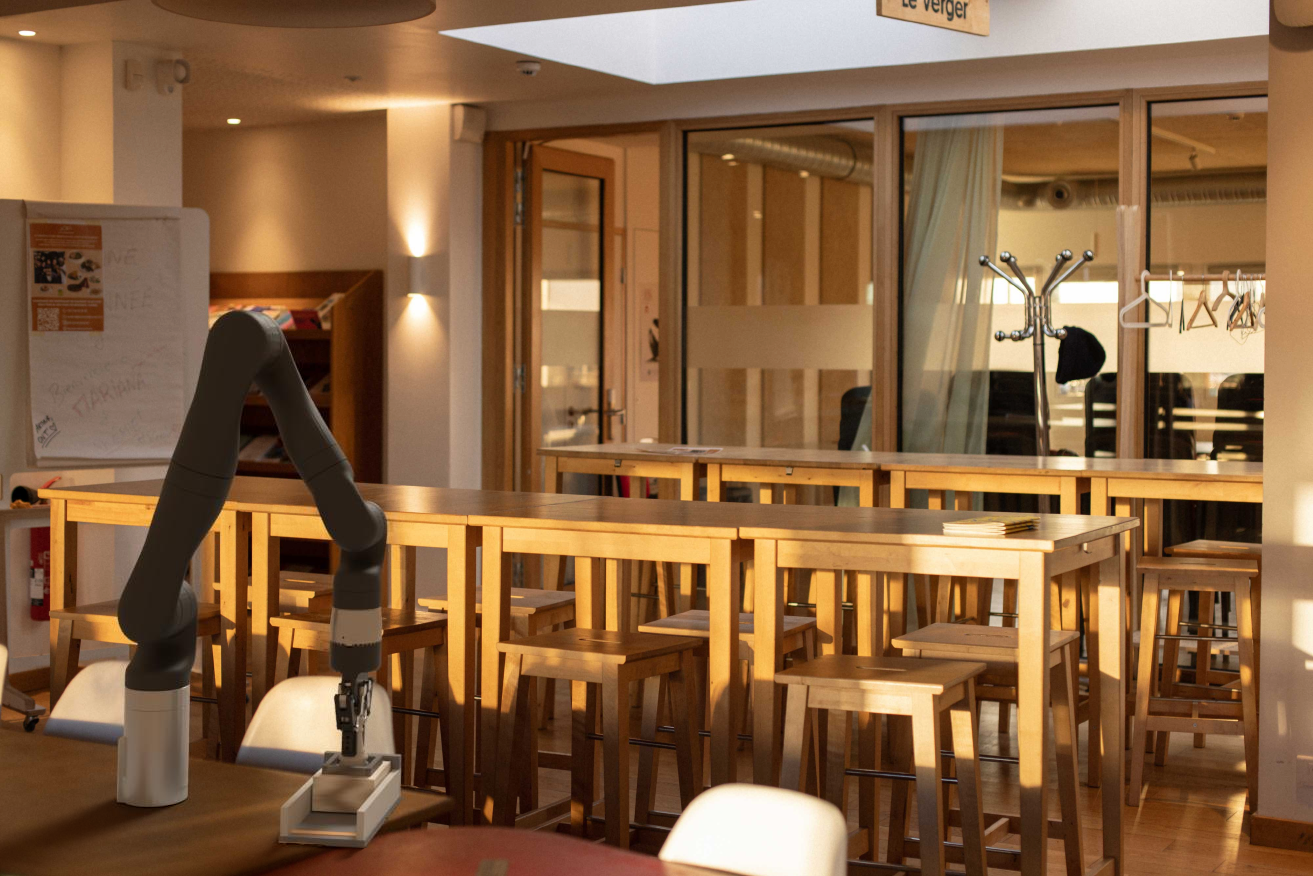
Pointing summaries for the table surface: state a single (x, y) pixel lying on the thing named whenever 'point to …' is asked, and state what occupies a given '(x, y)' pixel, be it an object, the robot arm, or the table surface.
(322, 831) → the crate bay
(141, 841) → the table surface
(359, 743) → the rook chess piece
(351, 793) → the frame
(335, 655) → the robot arm
